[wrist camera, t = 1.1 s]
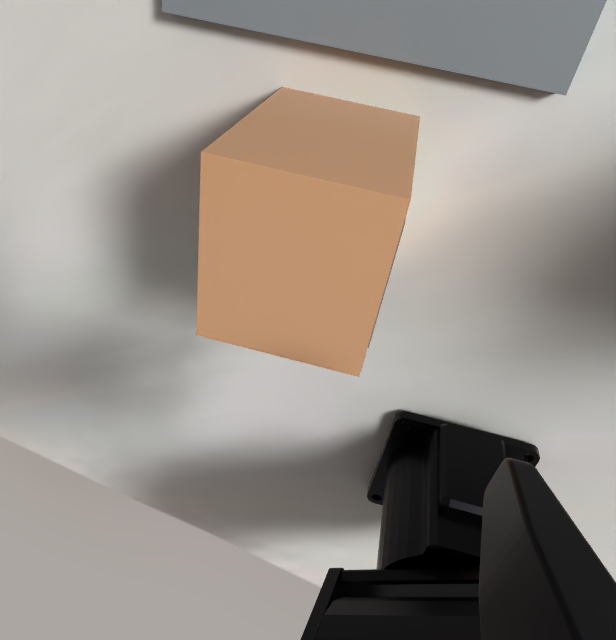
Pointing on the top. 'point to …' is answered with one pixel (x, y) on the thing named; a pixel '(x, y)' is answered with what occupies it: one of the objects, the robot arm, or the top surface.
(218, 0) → the flat gray board
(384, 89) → the top surface
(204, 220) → the block
